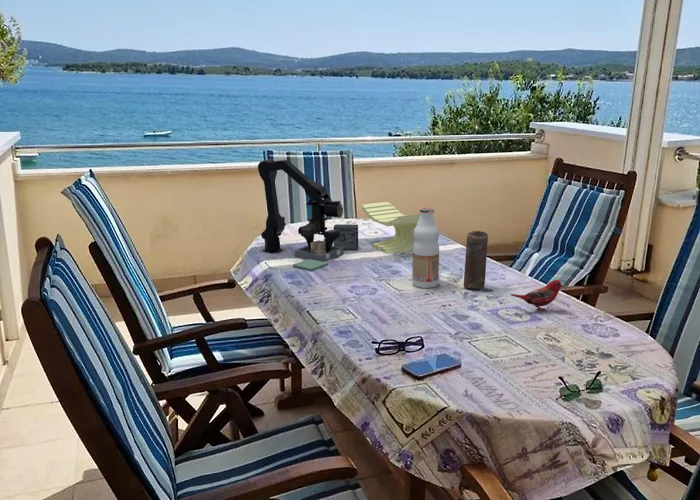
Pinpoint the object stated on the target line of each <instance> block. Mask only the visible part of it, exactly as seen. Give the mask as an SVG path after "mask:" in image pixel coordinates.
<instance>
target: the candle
mask: <svg viewBox="0 0 700 500" xmlns="http://www.w3.org/2000/svg"><path fill="white" fill-rule="evenodd" d="M488 242H489V234H488V233H487V232H485V231H480V230H472V231H470V232H468V233H467V234H466V245H465V247H466V248H465V263H464V273H463V275H464V277H463V287H464V288H466V289H471V290H478V289H481V288H483V287H485V285H486V271H487V253H488Z"/></svg>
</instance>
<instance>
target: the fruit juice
mask: <svg viewBox="0 0 700 500" xmlns="http://www.w3.org/2000/svg"><path fill="white" fill-rule="evenodd" d="M419 214H421V215H420V218H419V221H418V223H417V226H416V227H415V229H414V233H413V235H414V239H415V242H414V244H413V250H412V278H411V280H412V281H411V282H412V285H413V286H415V287H416V288H420V289H421V288H422V289H431V288H435V287H437V286H438V285H439V280H440V279H439V276H440V275H439V274H440V272H439V270H440V244H439V237H440V229H439V227H438V226H437V223H436V219H435V217H434V214H435V209H434V208H433V207H429V206H428V207H426V206H425V207H420V208H419Z"/></svg>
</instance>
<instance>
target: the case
mask: <svg viewBox="0 0 700 500" xmlns="http://www.w3.org/2000/svg"><path fill="white" fill-rule="evenodd" d="M343 255H344V250H343V248H341V247H336V246H334V245H332V246H331V248H330V251H329V252H328V253H325V254H322V255H319V254H314V253H311V250H310V249H309V246H308V245H306V246H302V247H300V248H296V249H294V258H299V259H303V260H307V259H312V260H317V261H322V262H327V261H330V260H332V259H335V258H338V257H340V256H343Z"/></svg>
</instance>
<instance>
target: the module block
mask: <svg viewBox="0 0 700 500" xmlns="http://www.w3.org/2000/svg"><path fill="white" fill-rule="evenodd" d="M310 253H314V254H319V255H322V254H325V253H326V248H325V241H324V240H319V239H317V240H314V242H311V252H310Z"/></svg>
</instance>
